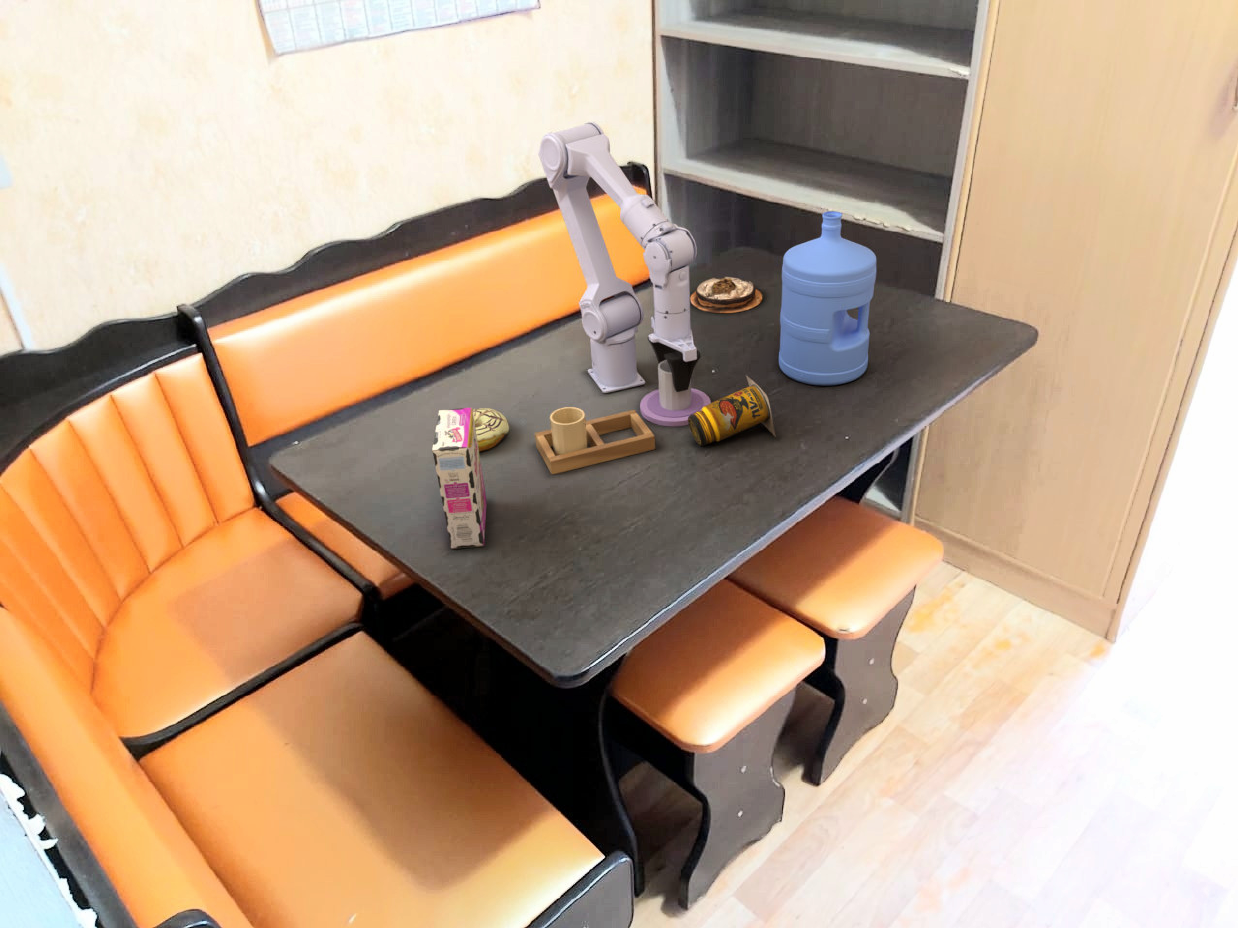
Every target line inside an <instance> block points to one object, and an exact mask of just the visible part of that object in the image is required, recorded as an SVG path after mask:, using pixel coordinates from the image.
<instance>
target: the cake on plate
mask: <svg viewBox="0 0 1238 928" xmlns="http://www.w3.org/2000/svg"><path fill="white" fill-rule="evenodd" d="M762 300H763V294H762V292H761V291H759V290H758V289H756V286H755V284H754V283H753V282H751V281H750V280H749V281H747V280H745V281H744V279H743V280H742V279H741V278H737V277H730V276H724V278H717V277H716V278H715V277H712V278H710V279H707V280H704V281H702V282H701V283H700V284H699V285H698V286H697V288H696V289H695V291H694V292H693V293H692V294H690V304H692V305H693V307H695V308H697V309H699V310H700V311H703V312H708V313H713V314H714V313H715V314H734V313H739V312H744V311H749V310H750V309H753V308H755V307H757V306H759V304H761V302H762Z"/></svg>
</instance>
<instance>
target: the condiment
mask: <svg viewBox="0 0 1238 928" xmlns="http://www.w3.org/2000/svg"><path fill="white" fill-rule="evenodd" d="M745 377H746V380H747V384H748V386H747V387H744V388H742V389H740V390H737V391H735V392H733V393H731V394H728V395H727V396H723V397H722V398H720V399H718V400H717V399H716V400H714V401H711V403H710V404H708V405H706V406H704V407H703V408H702V410H701V411H698V412H696V413H694V414H692V415H690V416H689V417H688V424H689V425H688V427H689V430H690V432H691V434H692V437H693V439H694V441H695V442H696V443H697V444H698V445H699V446H700V447H702V446H706V445H707V444H712V443H713V442H720V441H723V440H725V439H727V438H730V437H732V436H735V435H736V434H738V433H740V432H743V431H745V430H748V429H750V428H752V427H754V426H756V425H759V424H763V426H765V428H766V429H767V430H768V431H769V432H771V434H772V436H774V437H775V438H777V436H776V432H775V431H776V430H775V427H774V423H773V414H772V411H771V410H772V409H771V406H770V402H769V401H770V400H769V396H768V395H767V394H766V392H765V391H764V390H763V389H762V388H761V387H760V386H759V384H757V383H756V382H755V381H754V380H753V379H751V377H749V376H748V375H747V374H746V375H745Z"/></svg>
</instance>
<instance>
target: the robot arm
mask: <svg viewBox="0 0 1238 928" xmlns="http://www.w3.org/2000/svg"><path fill="white" fill-rule="evenodd" d="M537 154H538V157H539V161H540V163H541V167H542V168H543V171H544V174H545V177H546V180H547V183H548V185H549V188H550V189H552V190H553V193H554V197H555V199H556V202H557V204H558V208H559V211H560V213H561V216H562V219H563V221H564V224H565V228H566V230H567V233H568V236H569V239H570V241H571V245H572V247H573V250H574V252H575V253H574V254H575V256H576V258H577V262H578V264H579V266H580V270H581V272H582V275H583V278H584V280H585V284H586V286H587V287H586V290H585V291H584V292H583V295H582V296H581V298H580V300H579V301H578V305H579V309H580V313H581V323H582V327H583V330H584V332H585V333H586V335H587V336H588V337H589V338H590V340H589V343H590V356H591V365H592V366H591V367H592V368H588V369H587V373H588V374H589V376H590V378H592V380H593V381H594V383H595V384H596V385H597V387H598V388H599V389H600V390H601V392H602V393H603V394H609V393H613V392H617V391H623V390H625V389H630V388H634V387H638V386H643V385H645V384H646V381H645V379H644V378H643V377H642V376H641V375H640V374H639V372H638V370H637V368H638V367H637V366H638V365H637V351H636V350H637V349H636V334H637V333H638V332H639V328H638V326H640V325H641V324H642V323H643V320H644V316H645V315H644V307H643V305H642V302H641V300H640V299H639V298H638V296H637V295H636V293H635V291H634V288H633V285H632V284H631V283H630V282H628V281H626V280H623V279H621V278H620V277H618V276H617V274H616V271H615V268H614V265H613V263H612V259H611V257H610V253H609V251H608V248H607V245H606V241H605V239H604V236H603V233H602V229H601V228H600V225H599V221H598V218H597V217H596V213H595V211H594V207H593V204H592V201H591V199H590V196H589V193H588V190H587V186H588V183H589V180H590V178H591V179H593V181H594V182H596V184H597V185H598V186H599V187H600V188H601V189H602V190H603V191H604V192H605V194H607V196H609V198H611V200H612V201H613V202H614V203H615V204H616V205H617V206H618V207H619V209H620V213H619V219H620V221H621V223H622V224H623V225H624V226H625V227H626V229H627V230H628V231H629V233H630V234H631V235H632V237H633V238H634V239H635V240H636V242H637V243H638V244H639V245H640V247H641V248H642V249H643V250H644V252H642V256H643V260H644V263H645V265H646V267H647V269H648V273H649V279H650V282H651V284H652V290H653V291H652V292H653V309H654V310H653V312H654V313H653V314H654V316H650V323H651V324H650V325H651V329H653V333H649V334H648V336H647V341H648V342H649V344H650V345H651V347H652V350H653V352H654V355H655V358H656V360H657V366H658V365H659V364H660V362H662V361H664V360H667V362H668V364H669V366H670V369H671V373H672V378H673V384H674V388H675V390H676V392H680V391H685V390H688V388H689V384H690V380H691V381H692V377H693V376H692V375H693V373H694V370H695V367H696V366H697V363H698V362H699V360H700V359H701V357H702V356H701V354H702V353H701V352H700V351H699V350H698V348H697V347H696V346H695V344H694V336H693V330H692V329H691V328H692V327H691V300H690V298H691V292H690V291H691V289H690V288H691V287H690V285H691V284H690V264H693V262H694V261H695V260H696V258H697V254H698V248H697V243H696V240H695V238H694V237H693V235H692V233H691V231H689V230H688V229H687V228H685V227H683V226H678V225H677V223H672V222H671V221H670V220H669V219H668V218H667V216H666V215H665V214H664V213H663V211H662V210H661V209H660V207H659V206H658V205H657V204H656V203H655V201H654V200H653V198H651V196H650V195H648V194H639V193H638V192H637V191H636V189H635V188H634V186H633V185H632V184H631V182H630V181H629V179H628V177H627V176H626V175H625V173H624V172H623V170H622V168H621V167H620V166H619V164H618V163H617V160H615V158H614V157H613V155H612V154H611V144H610V139H609V137H608V136H607V135H606V134H605V132H604V130H603V129H602V128H601V126H600V125H599V124H598V123H596V122H595V121H587V122H586V123H584V124H581V125H576V126H573V127H569V128H566V129H562V130H559V131H555V132H552V131H551V132H547V133H546V134H544V135H543V137H542V138H541V141H540V145H539V150H538V153H537ZM611 297H612V298H611ZM608 298H609V299H608ZM605 299H606V300H605ZM603 300H604V301H603Z"/></svg>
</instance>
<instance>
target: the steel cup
mask: <svg viewBox="0 0 1238 928" xmlns="http://www.w3.org/2000/svg"><path fill="white" fill-rule="evenodd" d="M657 375H658V389H659V400H660V405H661V407H663V408H664V409H667V410H682V409H685V408H687V407H689V406H690V405H691V403H692V397H691V388H692V379H691V380H690V384H689V388H688V390H685V391H680V392H676V390H675V388H674V384H673V378H672V373H671V369H670V366H669V364H668V362H667V360H664V361H662V362H660V364H659V365H658V364H657Z"/></svg>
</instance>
